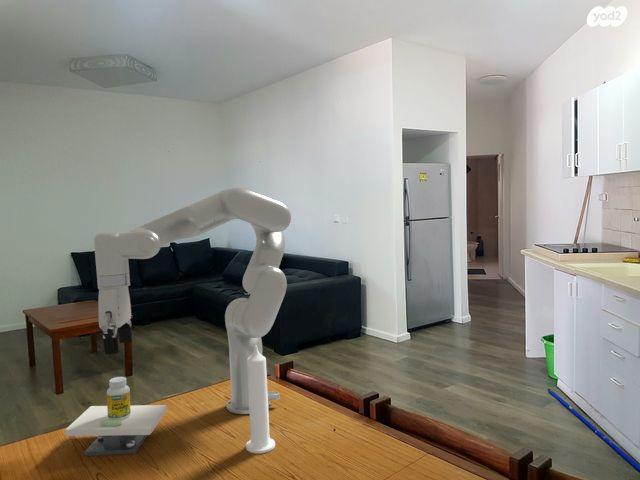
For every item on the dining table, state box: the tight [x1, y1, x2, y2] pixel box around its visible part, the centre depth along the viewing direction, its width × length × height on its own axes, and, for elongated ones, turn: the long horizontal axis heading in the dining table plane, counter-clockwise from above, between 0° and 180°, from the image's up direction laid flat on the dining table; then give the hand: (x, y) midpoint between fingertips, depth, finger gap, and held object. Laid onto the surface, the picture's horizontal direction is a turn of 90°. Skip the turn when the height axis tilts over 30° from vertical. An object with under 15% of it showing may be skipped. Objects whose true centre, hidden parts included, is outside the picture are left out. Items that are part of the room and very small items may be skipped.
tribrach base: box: [84, 435, 149, 457], centre depth 124 cm, size 12×13×4 cm
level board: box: [64, 404, 168, 437], centre depth 124 cm, size 20×14×3 cm
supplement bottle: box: [106, 376, 131, 421], centre depth 124 cm, size 5×5×10 cm
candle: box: [245, 345, 276, 455], centre depth 118 cm, size 7×7×25 cm
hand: (119, 347), depth 125 cm, fingers open, 9 cm apart
